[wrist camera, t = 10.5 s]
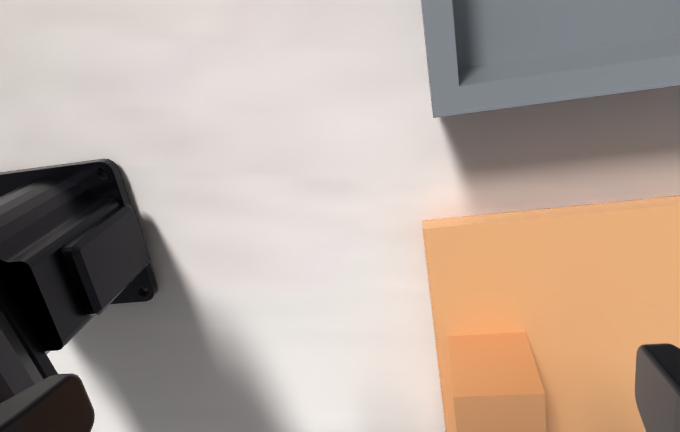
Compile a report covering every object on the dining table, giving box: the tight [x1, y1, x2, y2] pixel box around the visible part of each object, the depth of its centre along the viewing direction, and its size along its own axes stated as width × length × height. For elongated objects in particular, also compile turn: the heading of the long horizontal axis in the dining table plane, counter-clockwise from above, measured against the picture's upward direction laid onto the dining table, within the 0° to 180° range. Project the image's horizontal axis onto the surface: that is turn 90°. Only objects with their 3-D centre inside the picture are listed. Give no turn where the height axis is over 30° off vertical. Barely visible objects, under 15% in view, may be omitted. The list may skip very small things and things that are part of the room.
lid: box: [423, 196, 680, 432], centre depth 20 cm, size 15×15×5 cm
